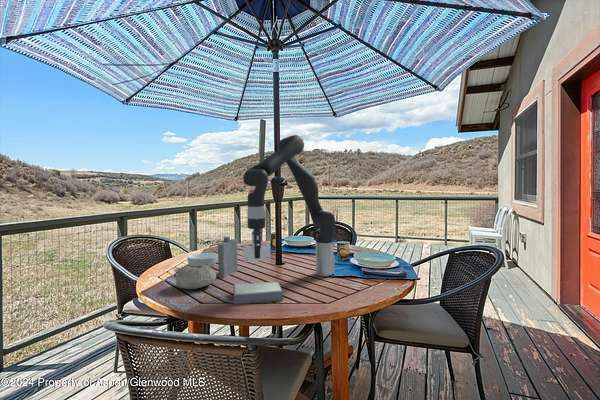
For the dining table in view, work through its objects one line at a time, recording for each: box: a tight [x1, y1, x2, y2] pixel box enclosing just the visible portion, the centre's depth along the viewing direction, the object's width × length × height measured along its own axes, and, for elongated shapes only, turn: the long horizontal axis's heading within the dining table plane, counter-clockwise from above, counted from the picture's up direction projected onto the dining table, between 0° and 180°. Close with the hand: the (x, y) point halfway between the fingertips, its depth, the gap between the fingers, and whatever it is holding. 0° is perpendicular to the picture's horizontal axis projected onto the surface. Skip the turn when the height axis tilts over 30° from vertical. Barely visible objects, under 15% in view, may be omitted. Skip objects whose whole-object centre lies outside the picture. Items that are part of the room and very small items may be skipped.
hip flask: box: [217, 236, 239, 279], centre depth 176 cm, size 16×4×20 cm, turn 161°
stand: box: [233, 281, 284, 305], centre depth 142 cm, size 20×13×4 cm, turn 102°
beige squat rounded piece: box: [175, 264, 217, 290], centre depth 156 cm, size 18×18×10 cm
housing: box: [242, 243, 272, 263], centre depth 141 cm, size 7×11×6 cm, turn 101°
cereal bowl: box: [187, 252, 218, 268], centre depth 190 cm, size 17×17×7 cm
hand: (256, 256), depth 141 cm, fingers closed on housing, 5 cm apart
